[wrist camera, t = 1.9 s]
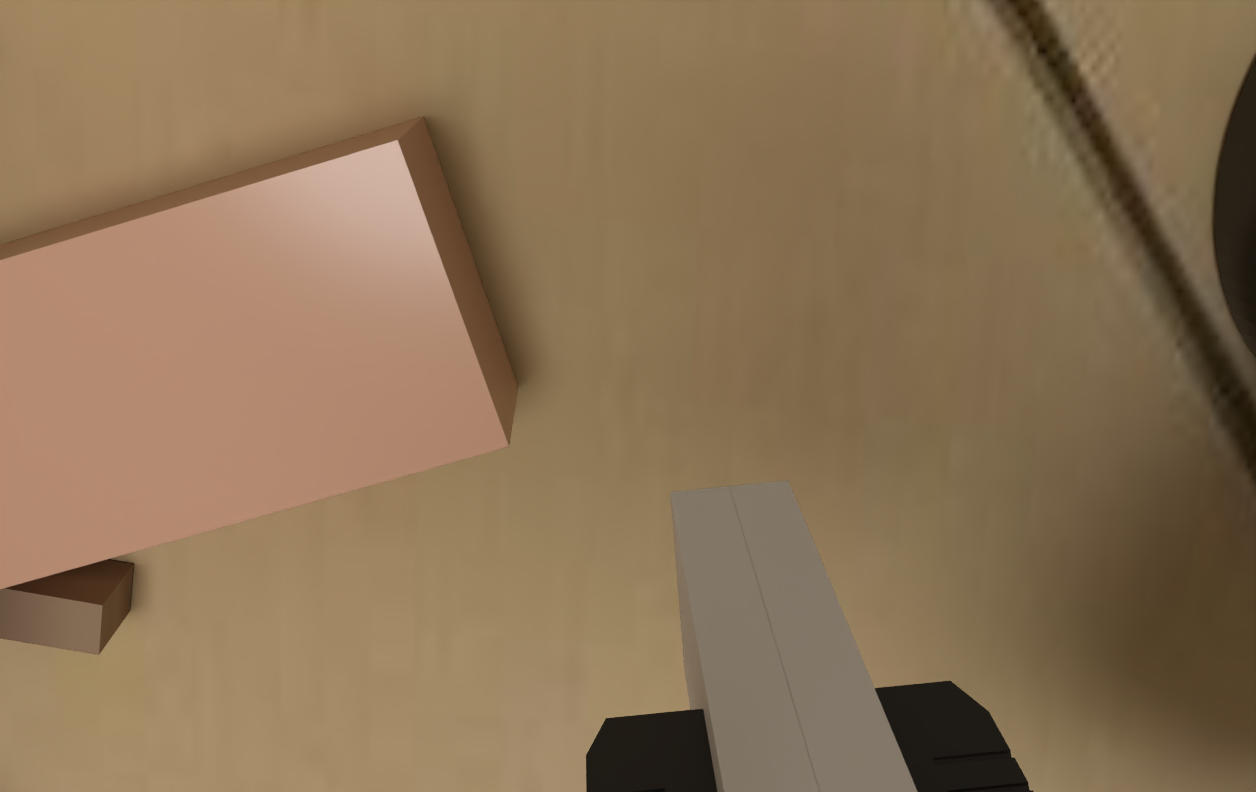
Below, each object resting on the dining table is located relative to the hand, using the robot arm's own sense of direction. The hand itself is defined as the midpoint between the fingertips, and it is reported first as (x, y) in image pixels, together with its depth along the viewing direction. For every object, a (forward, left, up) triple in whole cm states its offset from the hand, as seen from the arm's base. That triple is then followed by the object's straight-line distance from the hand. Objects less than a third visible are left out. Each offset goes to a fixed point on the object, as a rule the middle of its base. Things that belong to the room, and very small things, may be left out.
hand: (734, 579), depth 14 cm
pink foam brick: (+11, 0, -14) cm, 18 cm away
